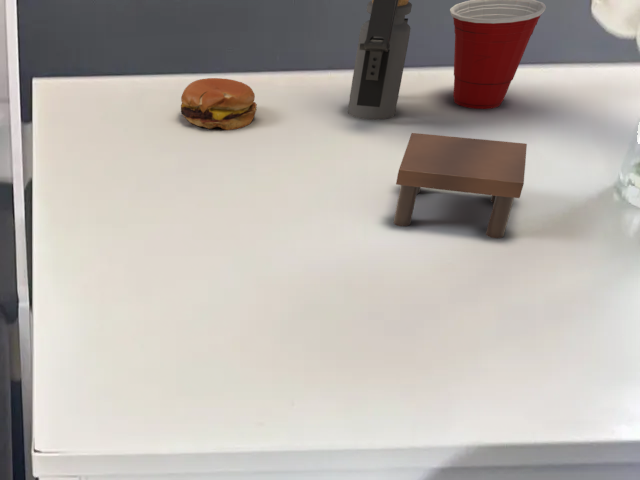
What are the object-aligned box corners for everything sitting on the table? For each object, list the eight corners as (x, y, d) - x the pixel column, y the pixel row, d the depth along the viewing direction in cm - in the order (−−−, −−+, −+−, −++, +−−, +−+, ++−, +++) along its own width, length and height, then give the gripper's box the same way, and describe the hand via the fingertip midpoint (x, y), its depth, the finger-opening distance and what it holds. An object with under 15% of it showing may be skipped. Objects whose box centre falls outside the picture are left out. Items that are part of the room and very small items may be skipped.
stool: (511, 200, 99) (527, 143, 95) (507, 243, 91) (523, 183, 87) (400, 188, 102) (411, 132, 99) (387, 228, 94) (398, 169, 91)
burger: (224, 103, 127) (226, 67, 125) (269, 122, 121) (273, 84, 118) (163, 118, 124) (164, 81, 121) (207, 138, 117) (209, 100, 114)
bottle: (337, 114, 122) (357, -13, 113) (364, 104, 125) (385, -21, 116) (377, 124, 119) (400, -6, 110) (404, 113, 122) (428, -14, 113)
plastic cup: (421, 92, 128) (440, -4, 121) (502, 90, 128) (526, -7, 120) (445, 118, 120) (467, 16, 112) (533, 116, 119) (561, 13, 112)
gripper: (387, -123, 116) (357, 66, 130) (359, -96, 100) (328, 117, 114) (452, -123, 114) (415, 71, 127) (434, -95, 98) (394, 123, 111)
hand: (374, 92), depth 120 cm, fingers open, 10 cm apart
